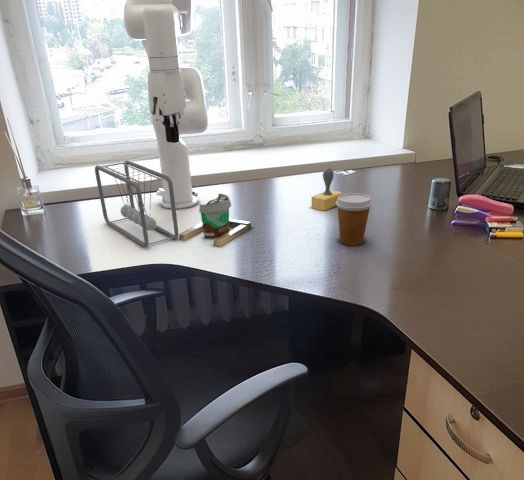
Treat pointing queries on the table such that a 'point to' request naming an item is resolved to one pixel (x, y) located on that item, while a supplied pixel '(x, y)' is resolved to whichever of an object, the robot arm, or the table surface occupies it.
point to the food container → (215, 216)
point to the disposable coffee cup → (353, 217)
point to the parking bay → (238, 229)
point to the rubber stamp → (326, 193)
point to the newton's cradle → (130, 211)
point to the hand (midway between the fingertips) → (173, 141)
